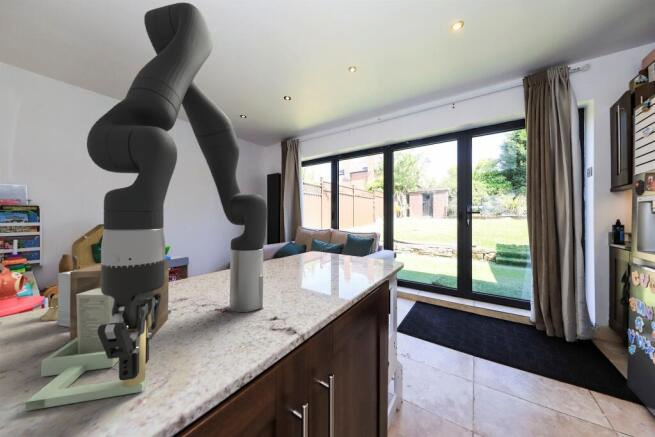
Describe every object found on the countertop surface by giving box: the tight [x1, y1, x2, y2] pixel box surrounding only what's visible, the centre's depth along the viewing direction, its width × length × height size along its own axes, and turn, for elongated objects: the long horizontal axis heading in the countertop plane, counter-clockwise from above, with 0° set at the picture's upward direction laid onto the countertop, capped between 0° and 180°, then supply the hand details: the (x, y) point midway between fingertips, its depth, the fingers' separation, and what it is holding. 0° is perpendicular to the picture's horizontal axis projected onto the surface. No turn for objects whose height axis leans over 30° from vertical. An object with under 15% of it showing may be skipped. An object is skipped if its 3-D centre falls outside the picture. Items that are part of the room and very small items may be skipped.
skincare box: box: [76, 288, 114, 355], centre depth 46 cm, size 6×4×12 cm
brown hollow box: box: [69, 259, 170, 342], centre depth 54 cm, size 14×10×15 cm
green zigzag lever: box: [24, 320, 148, 412], centre depth 42 cm, size 17×18×10 cm
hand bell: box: [40, 253, 74, 322], centre depth 63 cm, size 8×8×16 cm
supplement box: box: [57, 270, 73, 328], centre depth 59 cm, size 7×7×13 cm
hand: (134, 370), depth 36 cm, fingers closed on green zigzag lever, 2 cm apart
